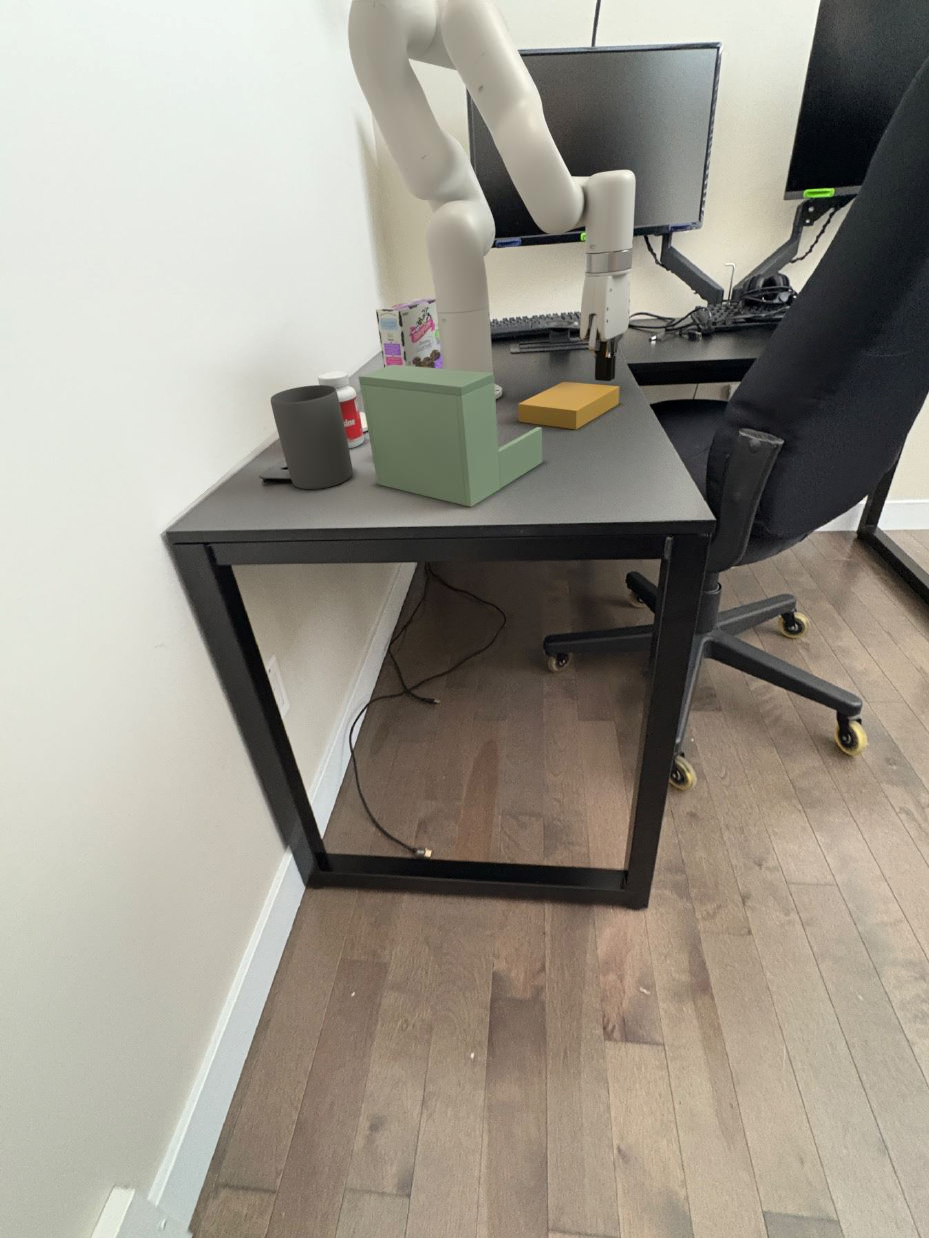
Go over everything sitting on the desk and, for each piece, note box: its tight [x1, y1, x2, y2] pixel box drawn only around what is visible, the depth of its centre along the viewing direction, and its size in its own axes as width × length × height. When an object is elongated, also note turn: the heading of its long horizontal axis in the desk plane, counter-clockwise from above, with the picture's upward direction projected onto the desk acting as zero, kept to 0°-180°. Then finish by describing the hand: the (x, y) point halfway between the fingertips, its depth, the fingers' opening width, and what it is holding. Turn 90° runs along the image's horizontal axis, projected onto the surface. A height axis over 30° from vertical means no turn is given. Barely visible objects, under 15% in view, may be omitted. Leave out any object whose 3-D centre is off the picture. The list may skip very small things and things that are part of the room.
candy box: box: [375, 298, 443, 369], centre depth 120 cm, size 14×6×16 cm, turn 148°
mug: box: [270, 384, 353, 490], centre depth 86 cm, size 14×9×12 cm
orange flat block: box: [517, 381, 620, 430], centre depth 103 cm, size 15×11×3 cm
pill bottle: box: [317, 370, 365, 450], centre depth 97 cm, size 6×6×11 cm
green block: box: [358, 365, 543, 508], centre depth 81 cm, size 17×17×14 cm
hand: (604, 379), depth 109 cm, fingers closed
